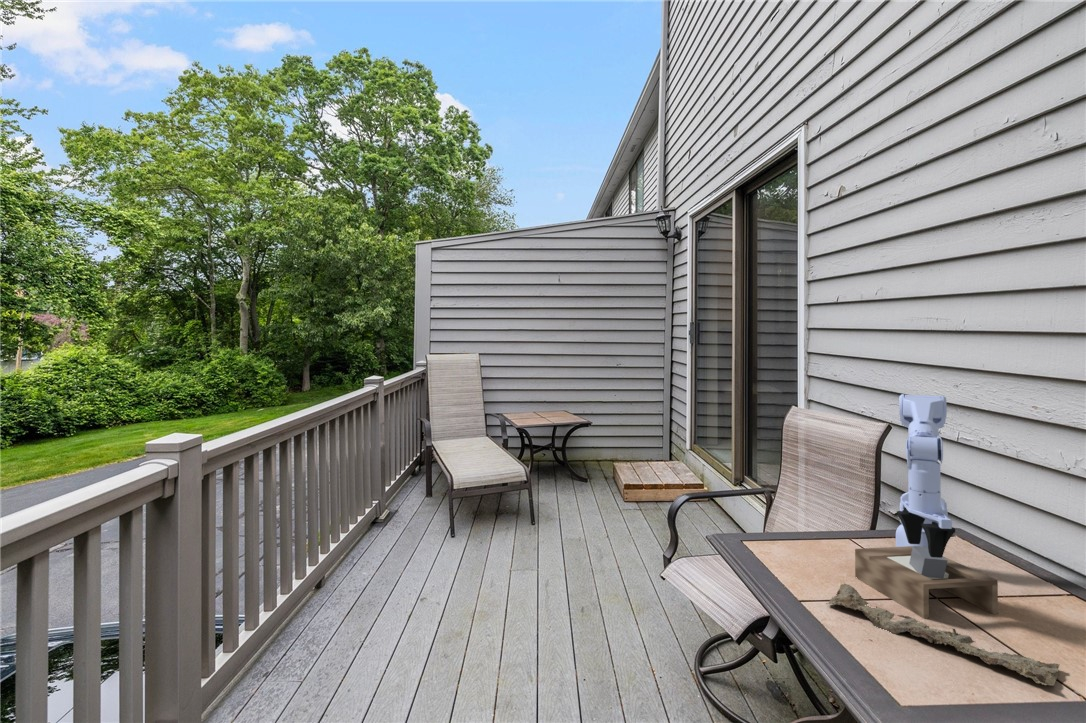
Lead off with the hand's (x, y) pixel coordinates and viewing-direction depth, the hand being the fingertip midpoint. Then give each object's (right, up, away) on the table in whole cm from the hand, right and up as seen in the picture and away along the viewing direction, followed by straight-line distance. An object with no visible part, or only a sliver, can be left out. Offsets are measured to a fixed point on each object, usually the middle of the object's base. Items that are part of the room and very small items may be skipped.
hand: (924, 550), depth 109 cm
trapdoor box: (0, -10, +1) cm, 10 cm away
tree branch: (-11, -11, -16) cm, 22 cm away
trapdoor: (0, -5, +2) cm, 6 cm away
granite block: (0, -5, 0) cm, 5 cm away
